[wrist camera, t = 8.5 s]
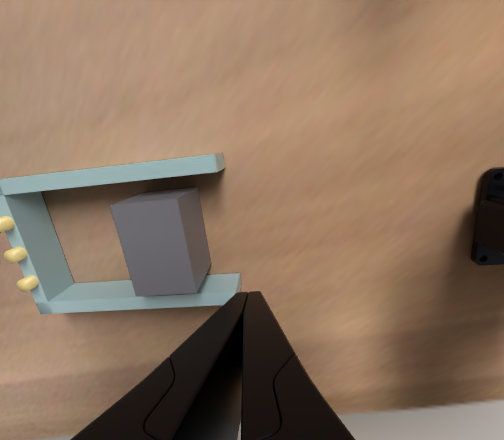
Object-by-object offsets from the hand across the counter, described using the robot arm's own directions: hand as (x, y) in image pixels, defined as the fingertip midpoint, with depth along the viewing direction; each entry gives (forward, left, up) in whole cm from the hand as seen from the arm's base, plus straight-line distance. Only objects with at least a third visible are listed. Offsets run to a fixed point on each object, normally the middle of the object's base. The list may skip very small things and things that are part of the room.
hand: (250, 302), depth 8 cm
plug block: (+6, 0, -10) cm, 11 cm away
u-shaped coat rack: (+10, 0, -9) cm, 13 cm away
